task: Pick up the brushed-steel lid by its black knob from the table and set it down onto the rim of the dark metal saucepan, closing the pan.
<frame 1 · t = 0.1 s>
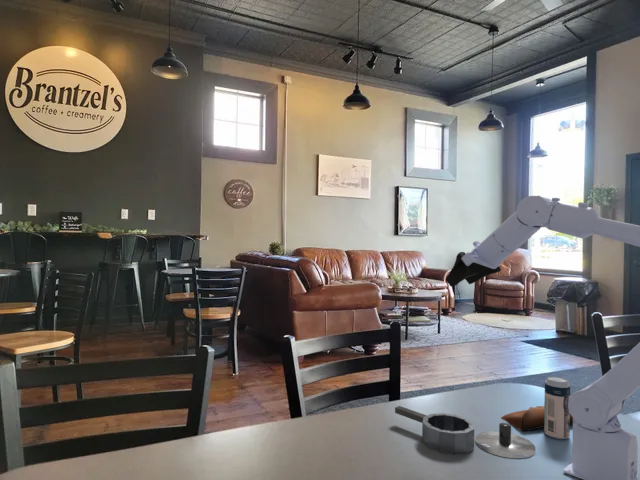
hand: (458, 281, 101), 32 cm above the table, tool tilted 50°, fingers open, 7 cm apart
lid: (504, 446, 91), on the table
saucepan: (447, 442, 92), on the table
sunglasses case: (543, 424, 104), on the table
white labeled canister: (556, 436, 96), on the table
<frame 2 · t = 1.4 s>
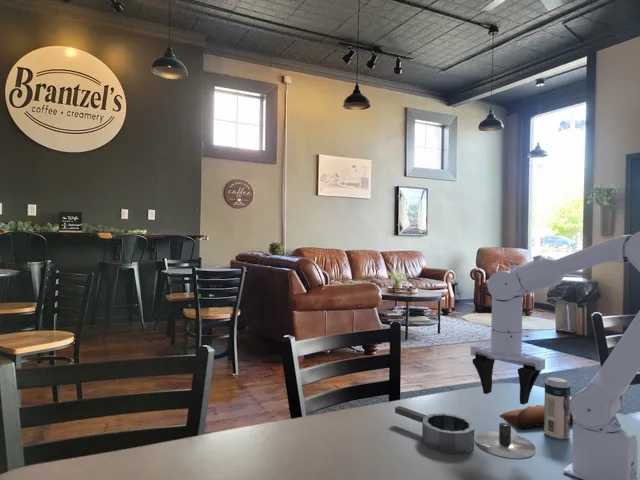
hand: (505, 397, 91), 9 cm above the table, tool pointing down, fingers open, 7 cm apart
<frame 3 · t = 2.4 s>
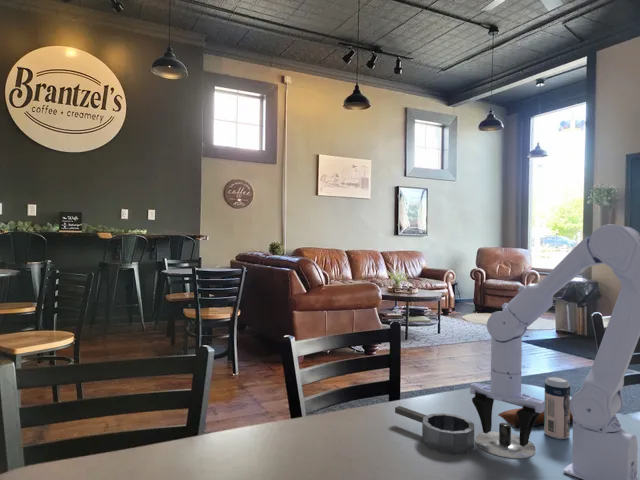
hand: (504, 438, 91), 1 cm above the table, tool pointing down, fingers open, 7 cm apart
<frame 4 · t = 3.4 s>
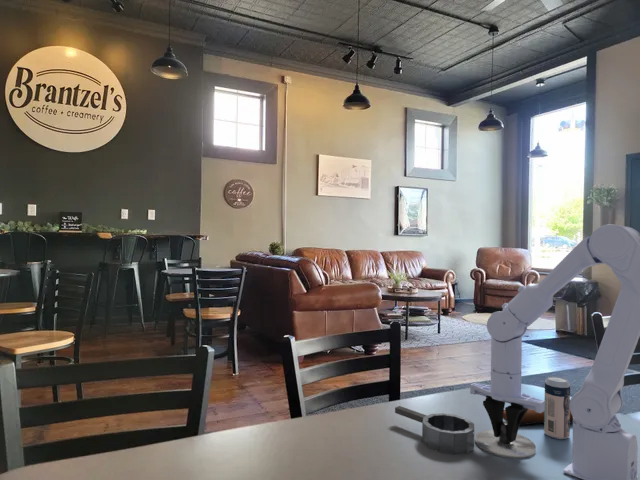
hand: (504, 438, 91), 1 cm above the table, tool pointing down, fingers closed on lid, 2 cm apart
lid: (504, 445, 91), on the table, touching gripper
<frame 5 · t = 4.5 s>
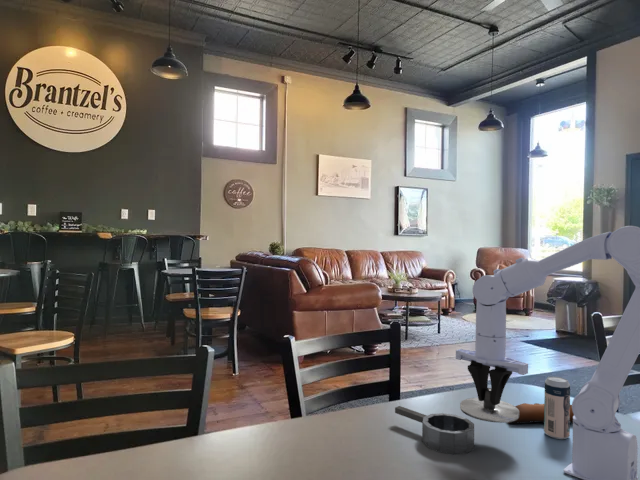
hand: (489, 401, 91), 9 cm above the table, tool pointing down, fingers closed on lid, 2 cm apart
lid: (489, 411, 91), point 7 cm above the table, touching gripper
when the fingers open (7 cm above the table, at t = 5.9 s): lid stays where it is, resting on saucepan.
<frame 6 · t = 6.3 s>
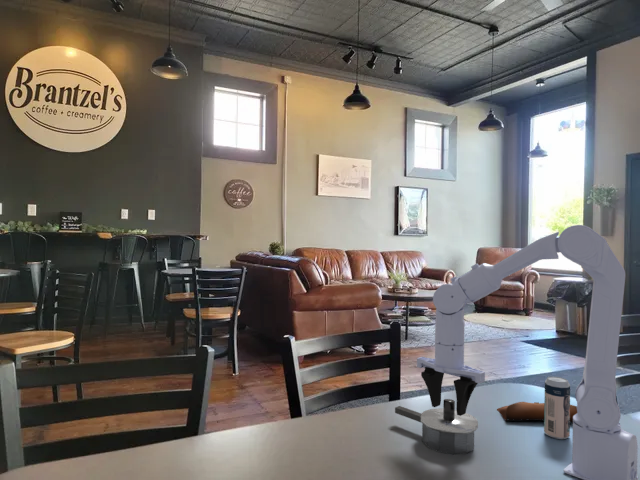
hand: (448, 409, 92), 7 cm above the table, tool pointing down, fingers open, 5 cm apart
lid: (448, 422, 92), point 4 cm above the table, touching saucepan
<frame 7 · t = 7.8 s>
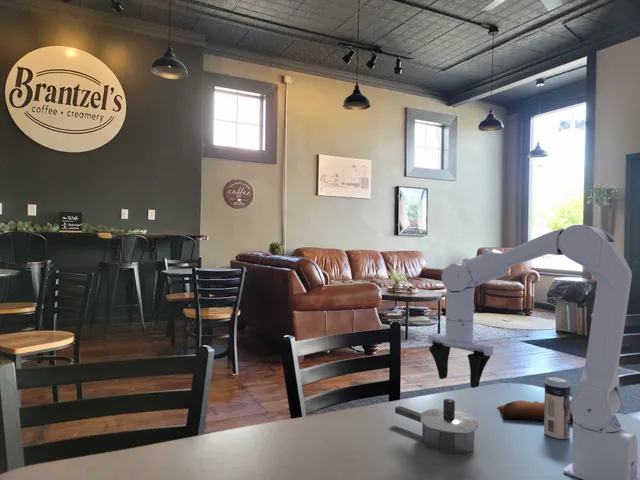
hand: (458, 382, 98), 10 cm above the table, tool pointing down, fingers open, 7 cm apart
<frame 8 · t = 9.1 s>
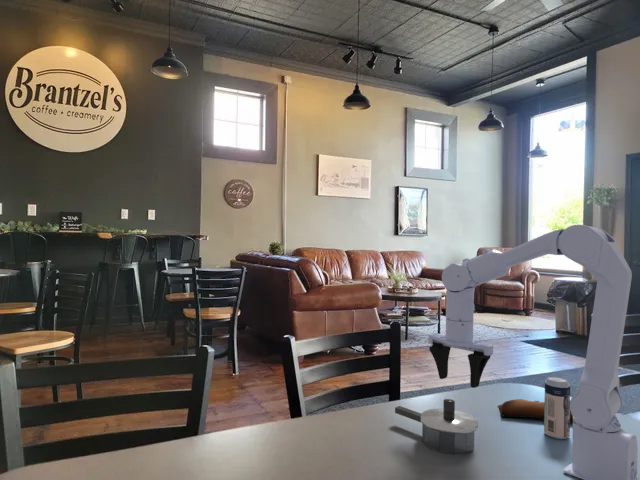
hand: (458, 382, 98), 10 cm above the table, tool pointing down, fingers open, 7 cm apart
at the end: lid 0.2 cm from the saucepan (horizontally); lid 0.2 cm off-centre on the saucepan, point 4.0 cm above the saucepan's base; lid tilted 0°; the gripper is holding nothing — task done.
